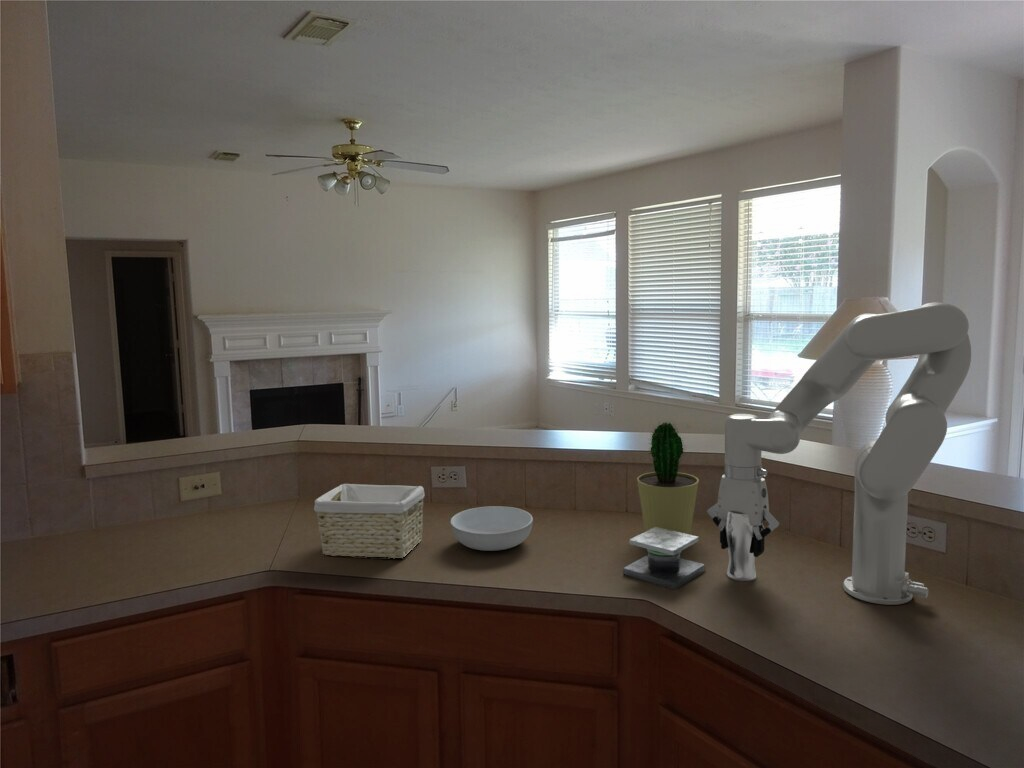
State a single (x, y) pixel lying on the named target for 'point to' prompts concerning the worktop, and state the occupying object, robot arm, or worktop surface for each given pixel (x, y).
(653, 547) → the metal stand
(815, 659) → the worktop surface
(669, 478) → the potted cactus
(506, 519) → the serving bowl
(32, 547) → the worktop surface
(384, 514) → the storage basket
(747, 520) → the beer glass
